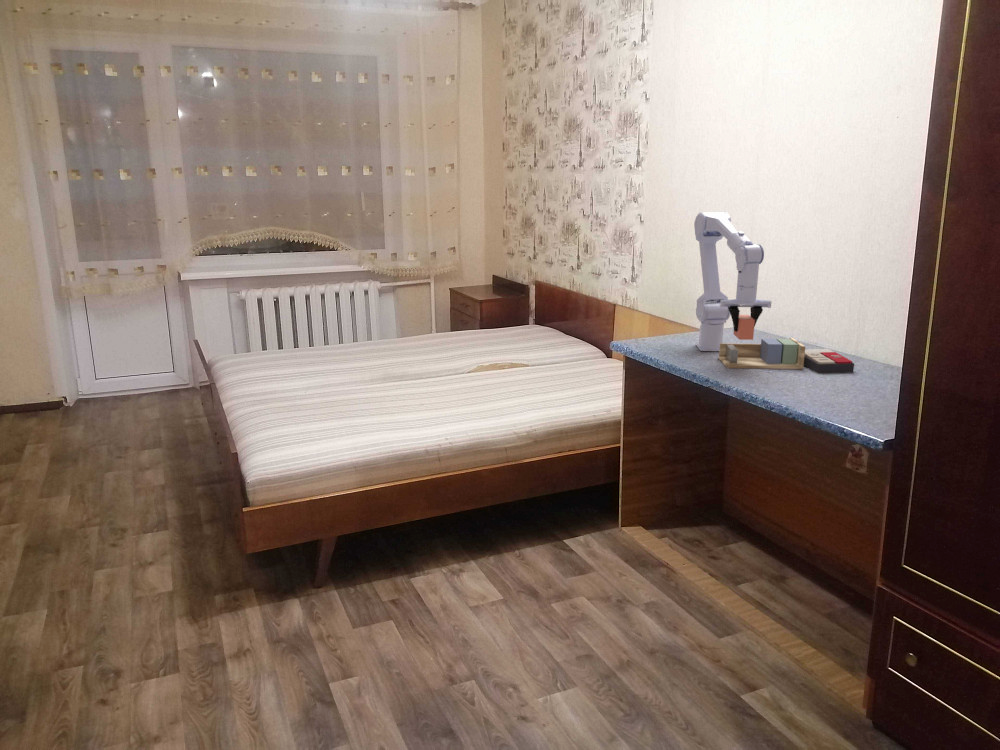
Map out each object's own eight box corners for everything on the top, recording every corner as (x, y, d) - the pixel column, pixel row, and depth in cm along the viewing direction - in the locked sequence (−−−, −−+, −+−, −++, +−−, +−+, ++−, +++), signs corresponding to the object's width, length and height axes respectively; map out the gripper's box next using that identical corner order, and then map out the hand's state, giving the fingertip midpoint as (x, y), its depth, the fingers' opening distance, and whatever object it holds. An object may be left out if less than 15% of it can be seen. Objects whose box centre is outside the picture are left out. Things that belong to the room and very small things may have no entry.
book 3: (774, 357, 232) (776, 338, 230) (788, 357, 232) (789, 338, 230) (782, 364, 224) (784, 344, 223) (795, 364, 224) (797, 344, 222)
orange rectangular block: (733, 333, 231) (734, 314, 229) (746, 334, 230) (748, 314, 229) (739, 339, 223) (740, 319, 222) (753, 339, 223) (754, 319, 221)
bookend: (725, 357, 233) (726, 344, 232) (731, 357, 232) (732, 344, 231) (730, 362, 226) (731, 349, 225) (737, 362, 226) (738, 349, 225)
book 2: (759, 357, 232) (761, 338, 231) (773, 357, 232) (774, 338, 230) (766, 363, 225) (768, 344, 223) (780, 364, 224) (782, 344, 223)
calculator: (819, 362, 216) (794, 347, 230) (817, 376, 218) (793, 361, 232) (855, 361, 217) (829, 347, 231) (853, 375, 219) (827, 360, 233)
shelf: (718, 358, 235) (720, 337, 233) (791, 359, 233) (793, 337, 231) (727, 367, 223) (728, 345, 221) (803, 369, 222) (805, 346, 220)
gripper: (724, 287, 220) (721, 333, 223) (775, 288, 219) (771, 333, 222) (720, 284, 227) (716, 328, 230) (769, 284, 225) (765, 329, 229)
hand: (743, 330), depth 227 cm, fingers closed on orange rectangular block, 4 cm apart
